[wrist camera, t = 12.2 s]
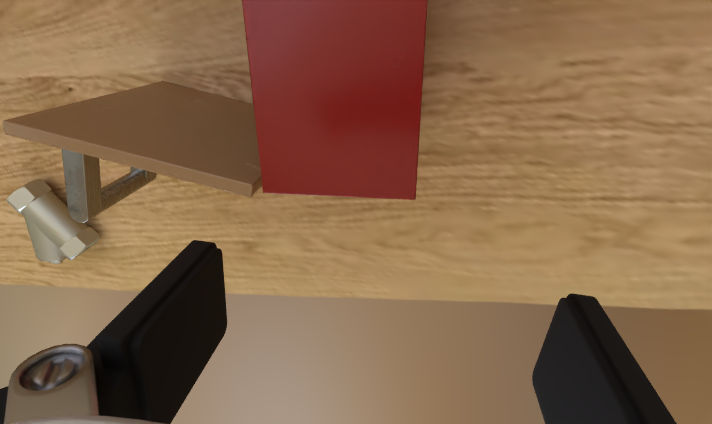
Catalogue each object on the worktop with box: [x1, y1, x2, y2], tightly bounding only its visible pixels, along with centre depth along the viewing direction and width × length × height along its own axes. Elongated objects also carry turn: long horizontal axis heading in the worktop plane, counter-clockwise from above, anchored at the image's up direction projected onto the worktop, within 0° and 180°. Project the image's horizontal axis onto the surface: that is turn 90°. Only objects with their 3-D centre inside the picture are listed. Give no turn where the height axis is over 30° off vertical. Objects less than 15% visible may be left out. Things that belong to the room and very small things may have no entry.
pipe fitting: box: [6, 179, 101, 264], centre depth 43 cm, size 8×4×7 cm
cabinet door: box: [3, 81, 262, 223], centre depth 30 cm, size 7×14×16 cm, turn 78°
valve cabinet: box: [242, 0, 428, 200], centre depth 25 cm, size 8×14×16 cm, turn 0°
